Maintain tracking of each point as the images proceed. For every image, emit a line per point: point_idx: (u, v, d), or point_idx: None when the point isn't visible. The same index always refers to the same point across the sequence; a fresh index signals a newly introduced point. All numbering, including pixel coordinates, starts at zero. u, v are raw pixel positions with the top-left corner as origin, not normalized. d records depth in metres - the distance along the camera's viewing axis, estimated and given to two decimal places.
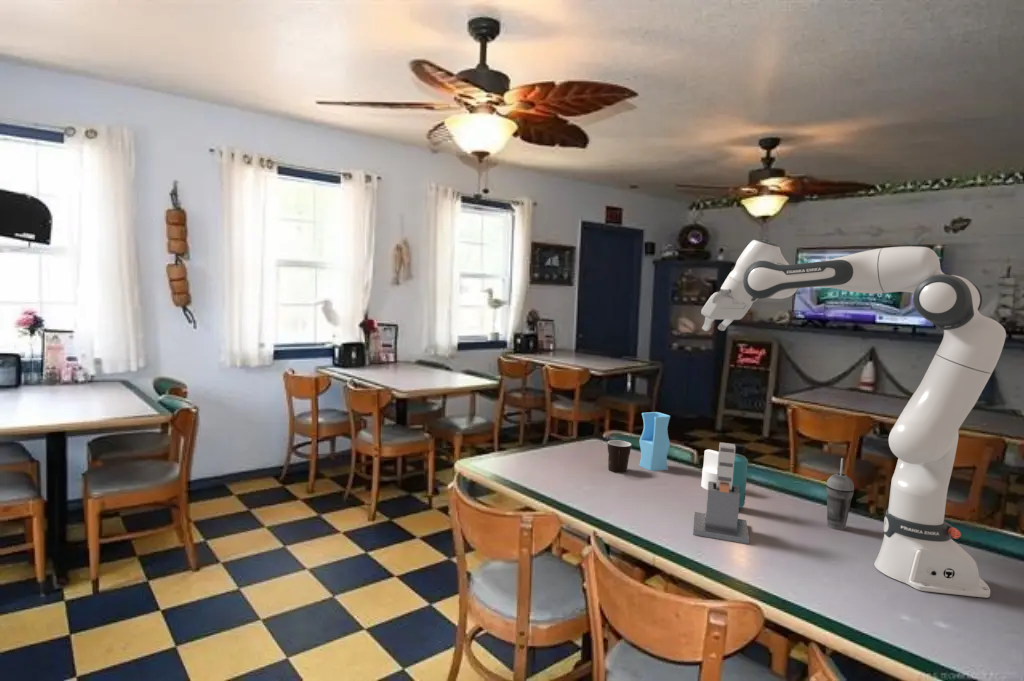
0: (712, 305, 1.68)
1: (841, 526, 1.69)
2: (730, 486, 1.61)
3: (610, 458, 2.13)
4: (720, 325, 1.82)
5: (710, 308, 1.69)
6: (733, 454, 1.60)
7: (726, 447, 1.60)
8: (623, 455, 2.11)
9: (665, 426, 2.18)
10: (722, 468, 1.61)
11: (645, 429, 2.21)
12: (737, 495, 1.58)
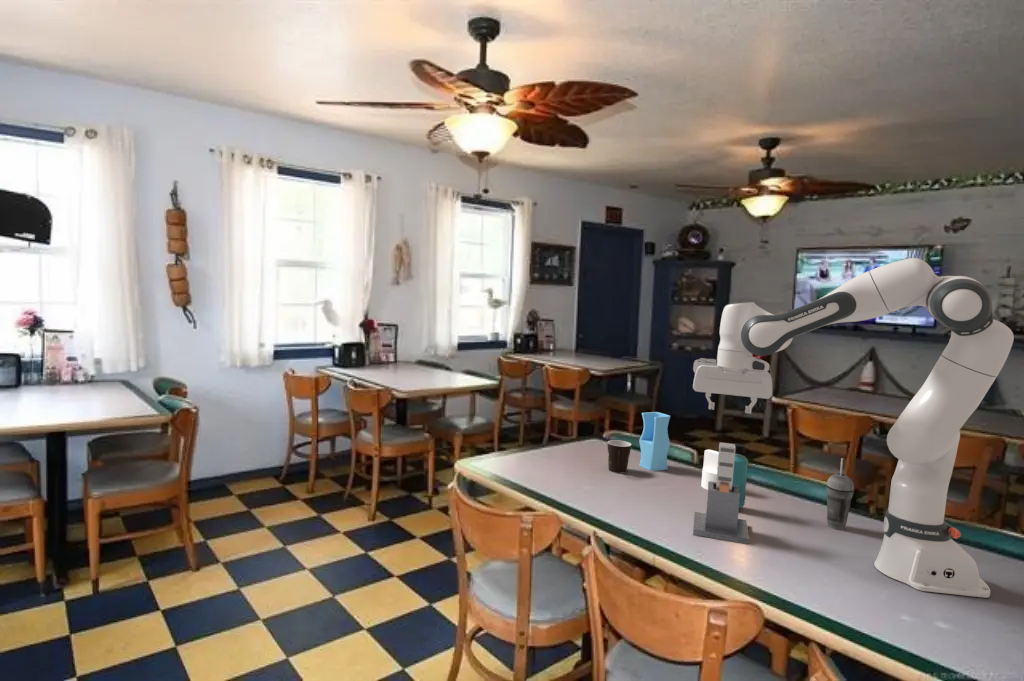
0: None
1: (841, 526, 1.69)
2: (730, 486, 1.61)
3: (610, 458, 2.13)
4: (745, 407, 1.61)
5: None
6: (733, 454, 1.60)
7: (726, 447, 1.60)
8: (623, 455, 2.11)
9: (665, 426, 2.18)
10: (722, 468, 1.61)
11: (645, 429, 2.21)
12: (737, 495, 1.58)
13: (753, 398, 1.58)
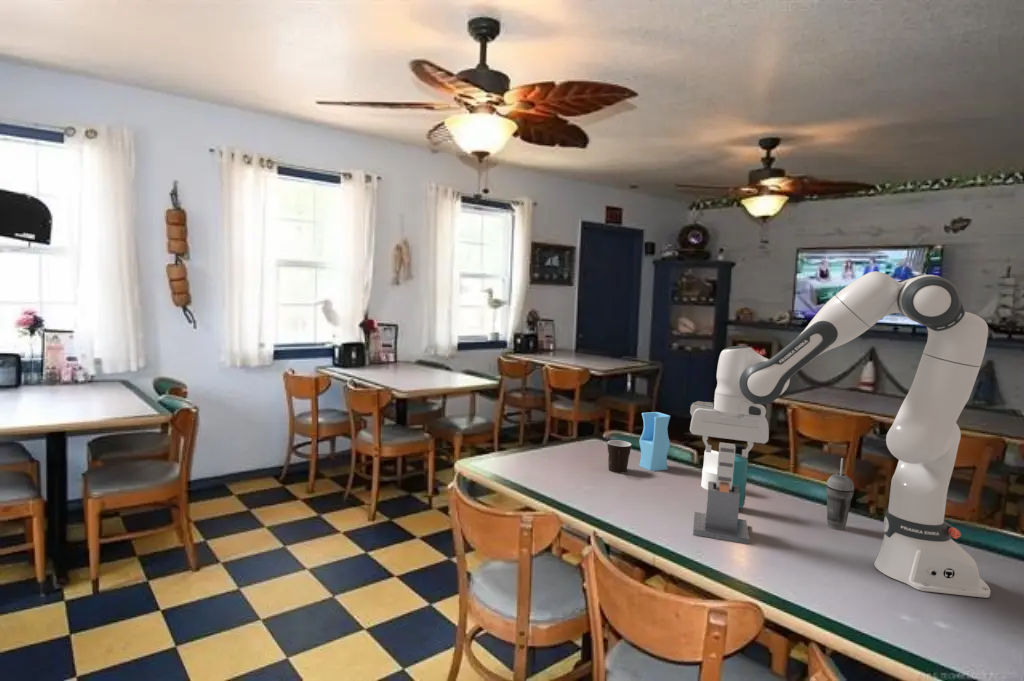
0: None
1: (841, 526, 1.69)
2: (730, 486, 1.61)
3: (610, 458, 2.13)
4: (742, 451, 1.61)
5: None
6: (733, 454, 1.60)
7: (726, 447, 1.60)
8: (623, 455, 2.11)
9: (665, 426, 2.18)
10: (722, 468, 1.61)
11: (645, 429, 2.21)
12: (737, 495, 1.58)
13: (750, 442, 1.59)
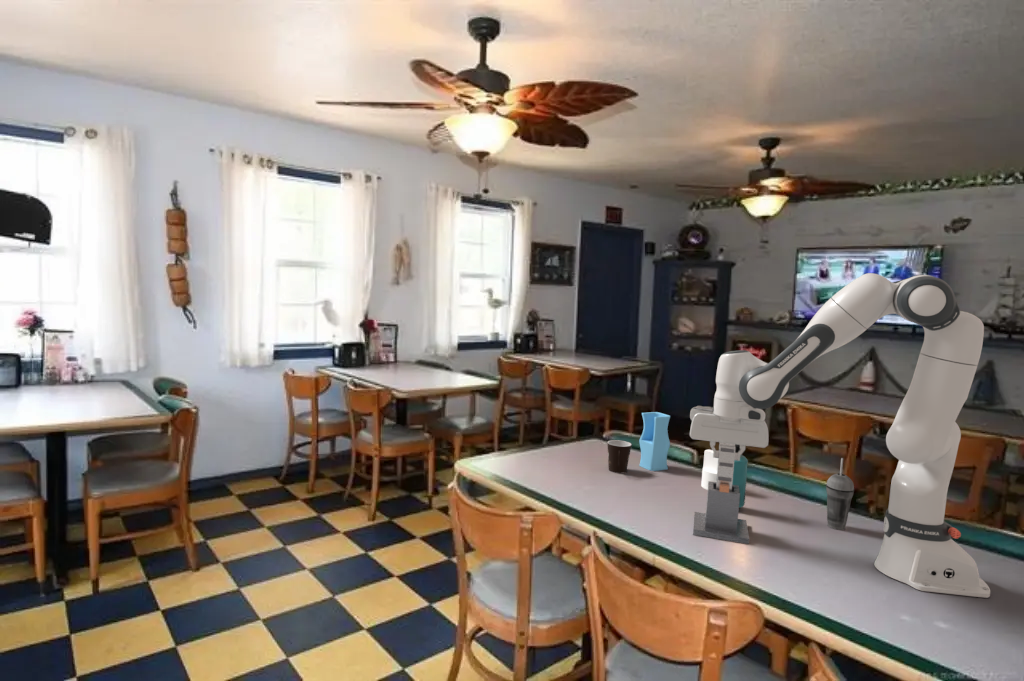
0: (691, 423, 1.64)
1: (841, 526, 1.69)
2: (730, 486, 1.61)
3: (610, 458, 2.13)
4: None
5: None
6: (733, 454, 1.60)
7: (726, 447, 1.60)
8: (623, 455, 2.11)
9: (665, 426, 2.18)
10: (722, 468, 1.61)
11: (645, 429, 2.21)
12: (737, 495, 1.58)
13: (741, 446, 1.60)
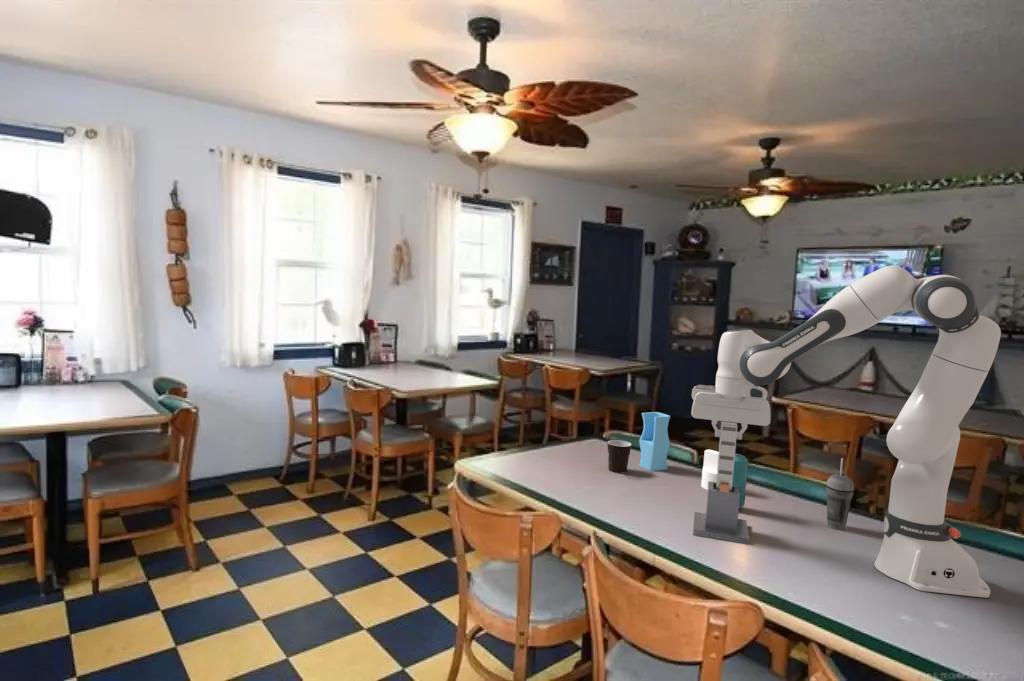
0: (693, 402, 1.64)
1: (841, 526, 1.69)
2: (732, 465, 1.60)
3: (610, 458, 2.13)
4: None
5: (692, 406, 1.64)
6: (735, 433, 1.59)
7: (728, 426, 1.60)
8: (623, 455, 2.11)
9: (665, 426, 2.18)
10: (724, 446, 1.60)
11: (645, 429, 2.21)
12: (737, 495, 1.58)
13: (743, 424, 1.59)
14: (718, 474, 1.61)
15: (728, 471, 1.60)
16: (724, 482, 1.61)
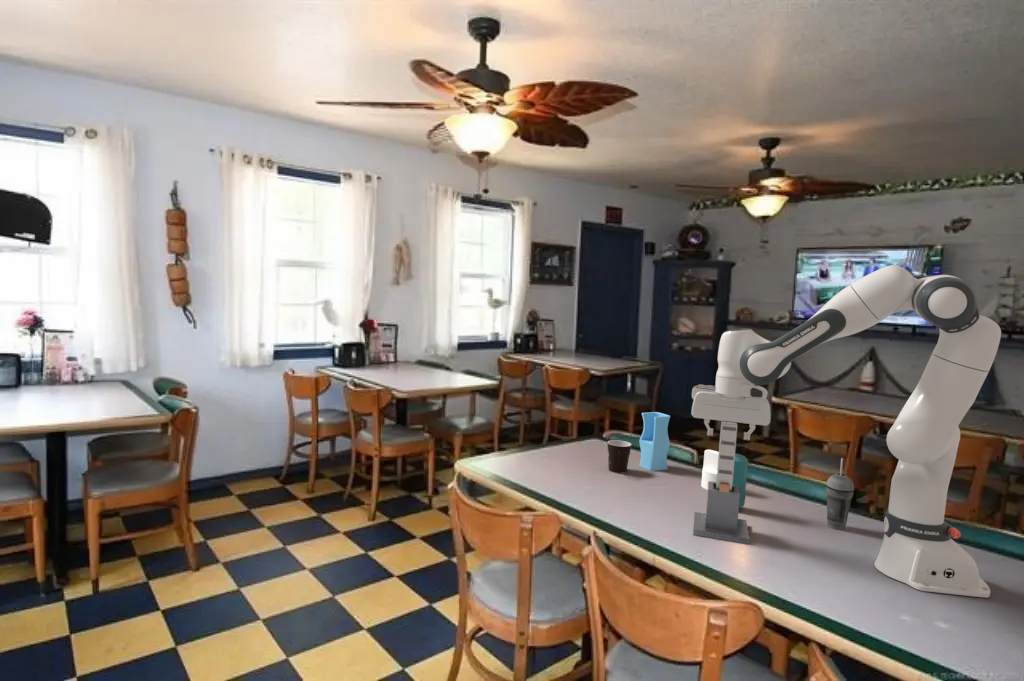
0: (693, 402, 1.64)
1: (841, 526, 1.69)
2: (732, 465, 1.60)
3: (610, 458, 2.13)
4: None
5: (692, 405, 1.64)
6: (735, 432, 1.59)
7: (728, 426, 1.60)
8: (623, 455, 2.11)
9: (665, 426, 2.18)
10: (724, 446, 1.60)
11: (645, 429, 2.21)
12: (737, 495, 1.58)
13: (751, 425, 1.59)
14: (718, 474, 1.61)
15: (728, 470, 1.60)
16: (724, 481, 1.61)
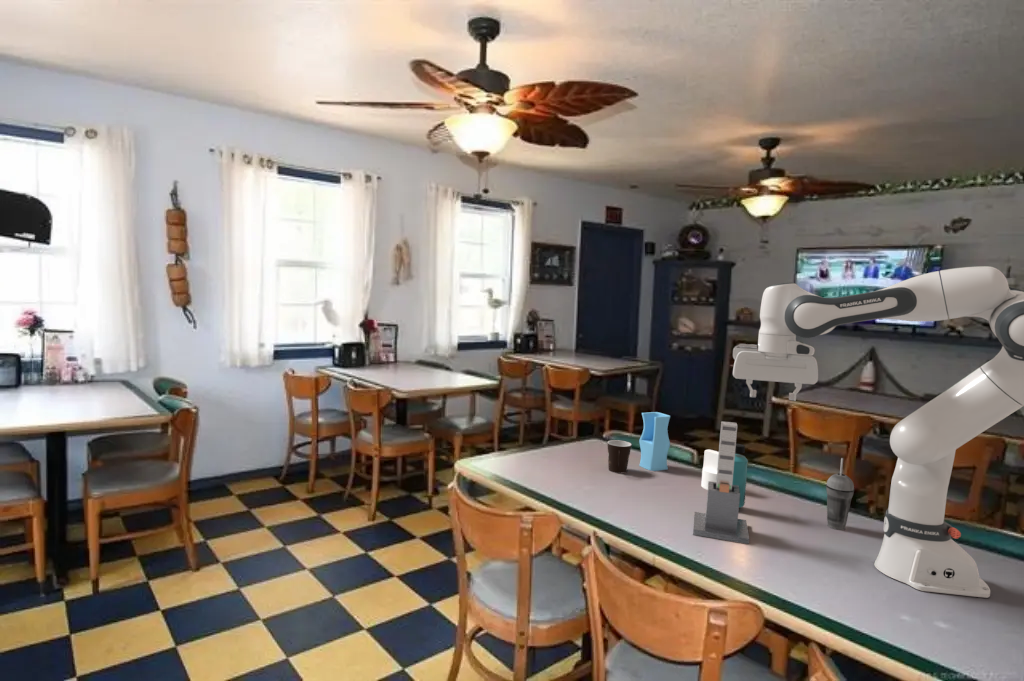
0: (734, 362, 1.56)
1: (841, 526, 1.69)
2: (732, 465, 1.60)
3: (610, 458, 2.13)
4: (789, 394, 1.53)
5: None
6: (735, 432, 1.59)
7: (728, 426, 1.60)
8: (623, 455, 2.11)
9: (665, 426, 2.18)
10: (724, 446, 1.60)
11: (645, 429, 2.21)
12: (737, 495, 1.58)
13: (798, 384, 1.51)
14: (718, 474, 1.61)
15: (728, 470, 1.60)
16: (724, 481, 1.61)
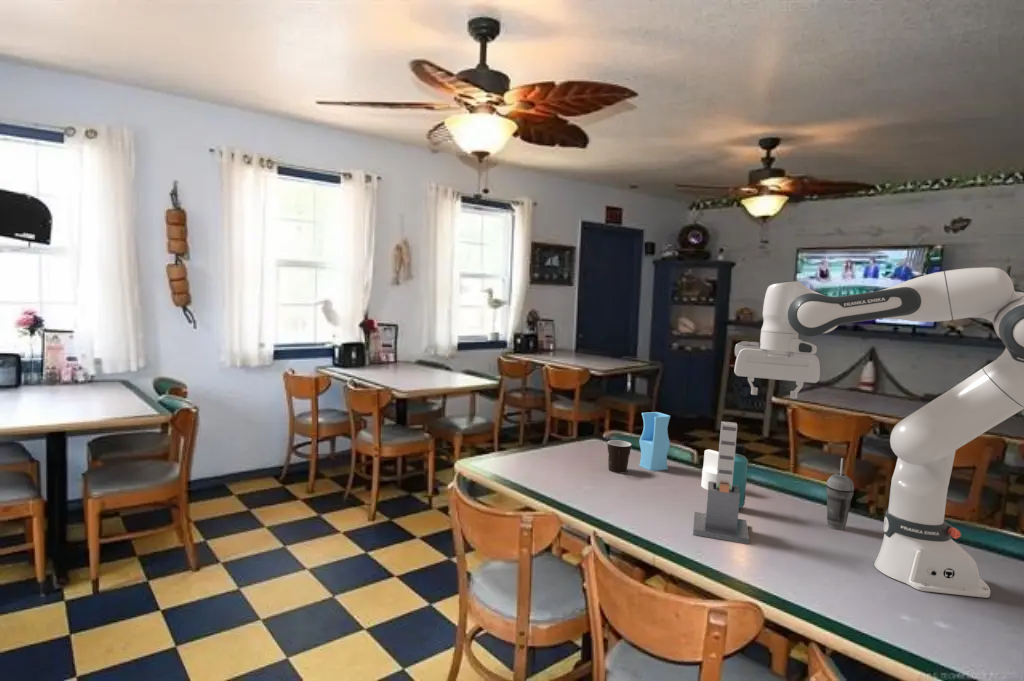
0: (736, 360, 1.56)
1: (841, 526, 1.69)
2: (732, 465, 1.60)
3: (610, 458, 2.13)
4: (790, 393, 1.53)
5: (735, 363, 1.56)
6: (735, 432, 1.59)
7: (728, 426, 1.60)
8: (623, 455, 2.11)
9: (665, 426, 2.18)
10: (724, 446, 1.60)
11: (645, 429, 2.21)
12: (737, 495, 1.58)
13: (799, 382, 1.51)
14: (718, 474, 1.61)
15: (728, 470, 1.60)
16: (724, 481, 1.61)
